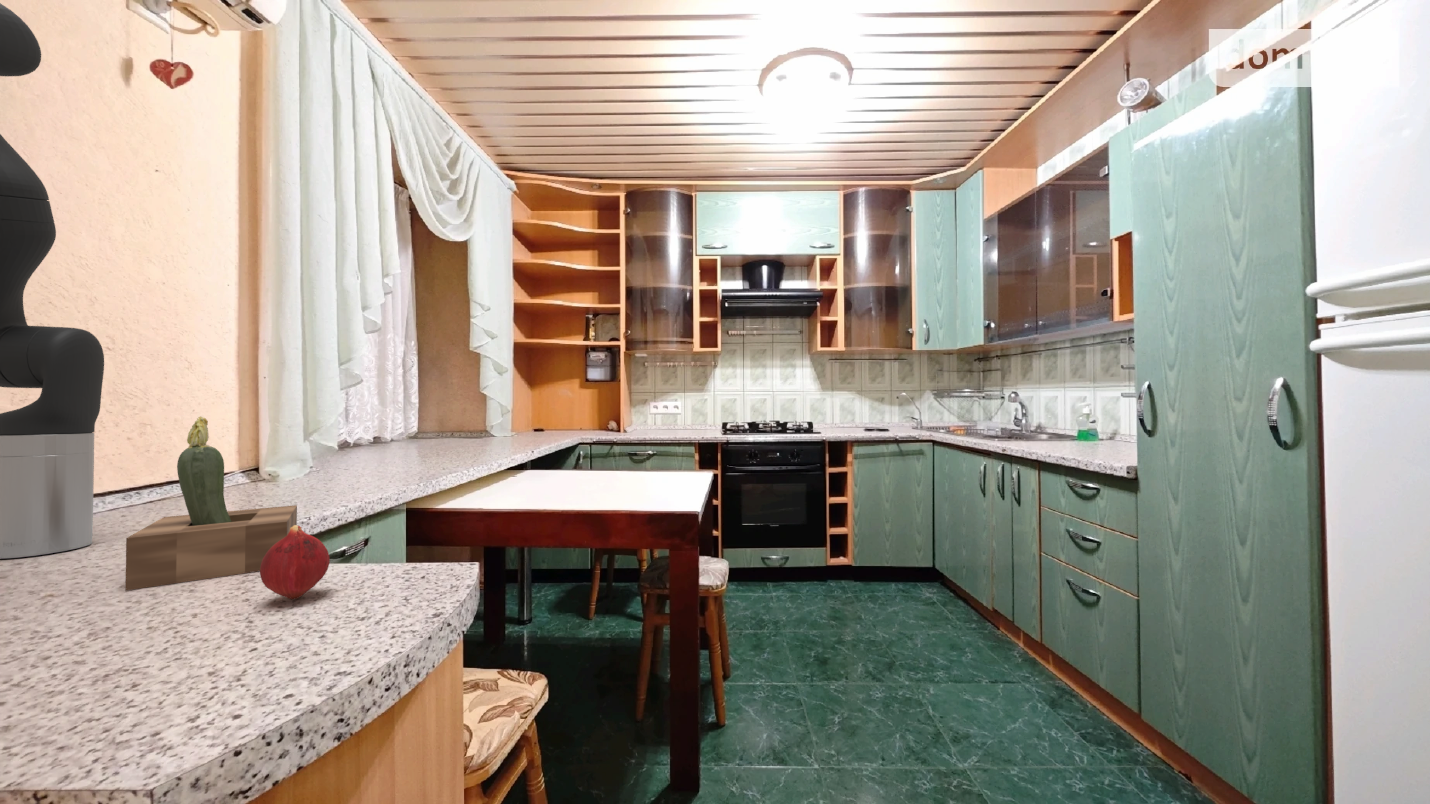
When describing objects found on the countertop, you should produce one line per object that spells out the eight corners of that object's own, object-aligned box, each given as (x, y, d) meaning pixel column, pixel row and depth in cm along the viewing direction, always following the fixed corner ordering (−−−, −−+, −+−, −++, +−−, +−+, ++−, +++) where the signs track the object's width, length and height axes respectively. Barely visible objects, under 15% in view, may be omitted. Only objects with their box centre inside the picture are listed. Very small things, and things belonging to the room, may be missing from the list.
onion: (340, 593, 55) (340, 522, 55) (277, 613, 50) (277, 534, 50) (311, 586, 58) (312, 518, 58) (248, 603, 52) (249, 528, 52)
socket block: (163, 560, 68) (164, 516, 68) (296, 543, 76) (296, 505, 76) (125, 590, 56) (126, 538, 56) (286, 567, 65) (287, 521, 65)
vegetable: (212, 570, 63) (182, 417, 62) (187, 571, 64) (157, 420, 63) (251, 556, 68) (223, 413, 66) (227, 557, 68) (199, 416, 67)
